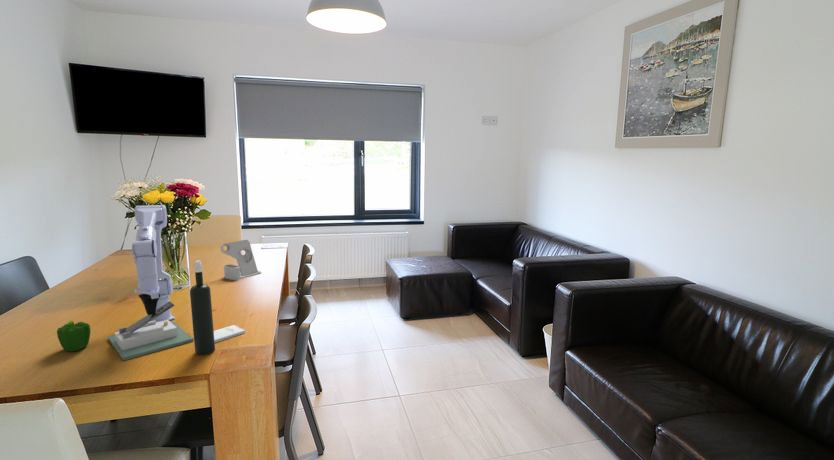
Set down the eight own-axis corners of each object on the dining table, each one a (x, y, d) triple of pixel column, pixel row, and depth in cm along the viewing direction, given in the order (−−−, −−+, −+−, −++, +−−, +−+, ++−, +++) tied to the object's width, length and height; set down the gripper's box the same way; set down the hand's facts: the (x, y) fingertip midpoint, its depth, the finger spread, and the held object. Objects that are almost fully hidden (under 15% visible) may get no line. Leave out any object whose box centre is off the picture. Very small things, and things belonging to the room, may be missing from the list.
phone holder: (233, 280, 215) (231, 246, 212) (221, 277, 221) (219, 243, 218) (262, 273, 230) (260, 240, 227) (250, 270, 235) (248, 238, 232)
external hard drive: (199, 339, 147) (233, 328, 157) (210, 345, 142) (245, 334, 151) (198, 334, 147) (233, 324, 156) (209, 341, 142) (244, 329, 151)
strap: (125, 337, 138) (124, 335, 137) (122, 333, 140) (121, 331, 140) (174, 305, 147) (173, 303, 147) (170, 303, 150) (169, 301, 149)
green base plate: (108, 339, 145) (106, 323, 144) (172, 323, 159) (171, 309, 159) (123, 360, 130) (121, 343, 129) (193, 341, 144) (191, 325, 143)
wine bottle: (191, 352, 136) (183, 261, 131) (208, 346, 141) (201, 258, 136) (201, 357, 133) (193, 264, 128) (218, 350, 138) (211, 260, 133)
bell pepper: (71, 343, 142) (67, 314, 140) (97, 342, 143) (93, 314, 141) (52, 354, 134) (47, 324, 132) (79, 354, 134) (75, 324, 133)
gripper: (127, 273, 144) (132, 311, 146) (139, 282, 134) (143, 323, 136) (151, 269, 149) (155, 306, 151) (164, 277, 139) (168, 317, 141)
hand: (151, 314), depth 144 cm, fingers closed, pressing on strap
